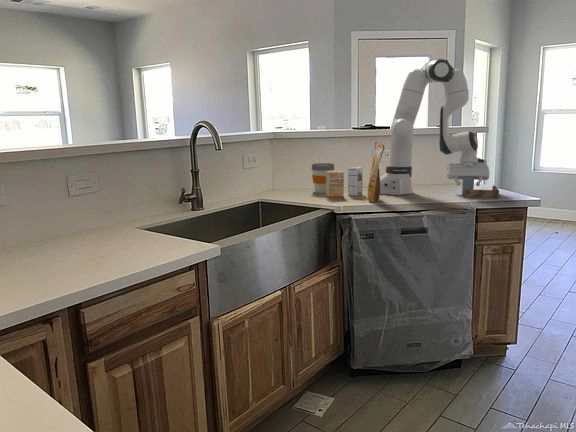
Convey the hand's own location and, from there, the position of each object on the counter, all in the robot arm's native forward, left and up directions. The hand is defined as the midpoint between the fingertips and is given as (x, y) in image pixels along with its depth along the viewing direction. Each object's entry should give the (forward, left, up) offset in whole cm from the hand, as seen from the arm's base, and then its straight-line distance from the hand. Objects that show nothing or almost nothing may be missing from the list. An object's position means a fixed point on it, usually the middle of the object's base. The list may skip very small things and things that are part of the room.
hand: (468, 185), depth 232 cm
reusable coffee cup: (-75, -4, -5) cm, 75 cm away
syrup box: (-56, -11, -5) cm, 57 cm away
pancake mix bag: (-44, -24, -5) cm, 51 cm away
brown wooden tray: (+6, 0, -5) cm, 8 cm away
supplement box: (-65, -19, -5) cm, 68 cm away
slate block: (0, +1, -5) cm, 5 cm away
